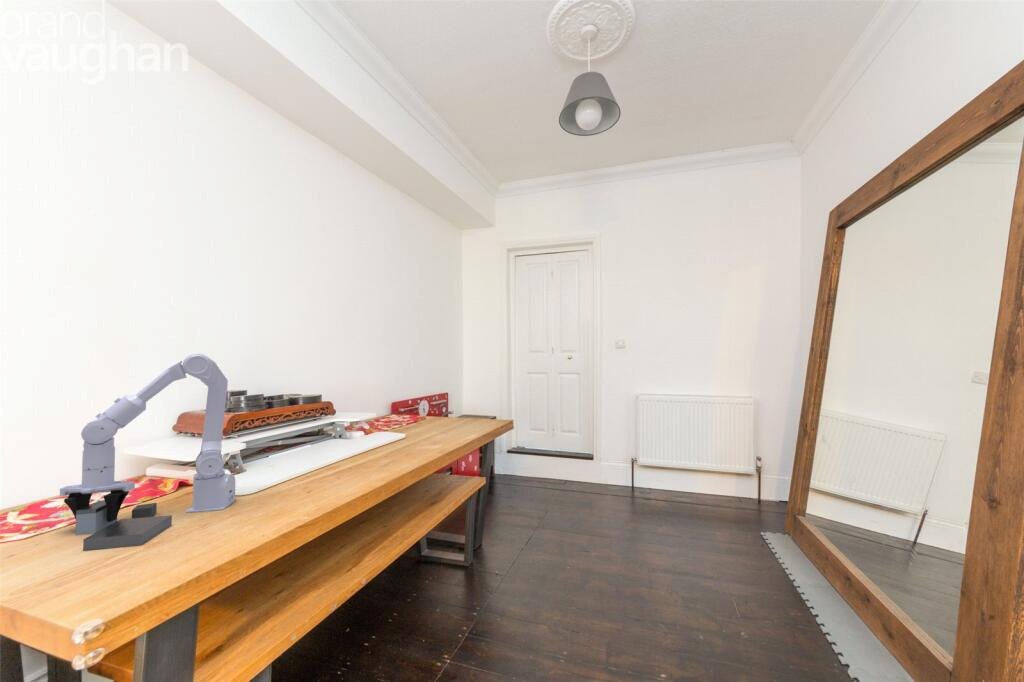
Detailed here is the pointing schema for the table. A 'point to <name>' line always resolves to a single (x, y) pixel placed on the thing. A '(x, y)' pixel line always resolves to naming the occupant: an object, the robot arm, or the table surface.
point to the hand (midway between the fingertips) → (97, 521)
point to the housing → (92, 518)
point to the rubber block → (144, 510)
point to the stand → (127, 532)
